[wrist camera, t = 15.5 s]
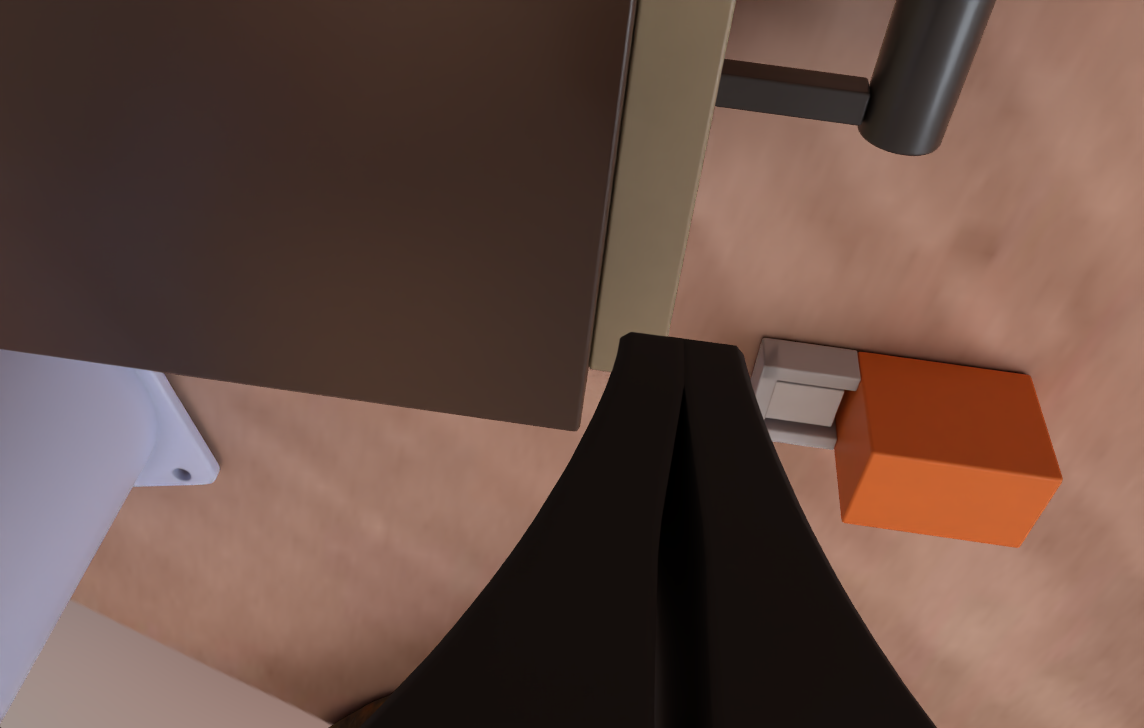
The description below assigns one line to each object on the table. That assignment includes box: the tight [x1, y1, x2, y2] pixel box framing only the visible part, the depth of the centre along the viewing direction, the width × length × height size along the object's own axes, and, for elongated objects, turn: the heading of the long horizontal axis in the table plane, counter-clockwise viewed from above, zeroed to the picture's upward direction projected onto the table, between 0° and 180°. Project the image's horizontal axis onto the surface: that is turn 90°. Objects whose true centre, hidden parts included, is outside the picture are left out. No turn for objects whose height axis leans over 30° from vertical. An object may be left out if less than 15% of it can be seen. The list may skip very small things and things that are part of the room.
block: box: [751, 338, 1063, 548], centre depth 23 cm, size 6×2×3 cm, turn 85°
